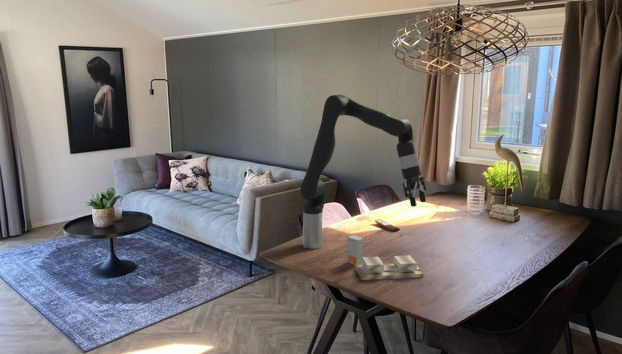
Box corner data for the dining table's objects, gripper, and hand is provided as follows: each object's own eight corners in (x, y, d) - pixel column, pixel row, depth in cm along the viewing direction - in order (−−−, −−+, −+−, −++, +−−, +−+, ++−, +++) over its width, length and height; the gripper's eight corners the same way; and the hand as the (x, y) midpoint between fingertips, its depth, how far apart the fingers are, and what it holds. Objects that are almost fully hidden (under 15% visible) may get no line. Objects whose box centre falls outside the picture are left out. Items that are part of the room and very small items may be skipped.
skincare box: (346, 262, 209) (347, 236, 206) (352, 260, 212) (353, 234, 209) (356, 266, 204) (357, 240, 202) (363, 263, 207) (364, 238, 205)
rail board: (361, 279, 190) (362, 266, 189) (355, 268, 202) (355, 256, 201) (423, 277, 193) (424, 264, 192) (413, 266, 205) (414, 254, 204)
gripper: (409, 165, 201) (418, 201, 202) (393, 170, 191) (402, 209, 191) (425, 162, 196) (434, 199, 197) (409, 167, 186) (418, 206, 186)
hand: (418, 204), depth 194 cm, fingers open, 8 cm apart
